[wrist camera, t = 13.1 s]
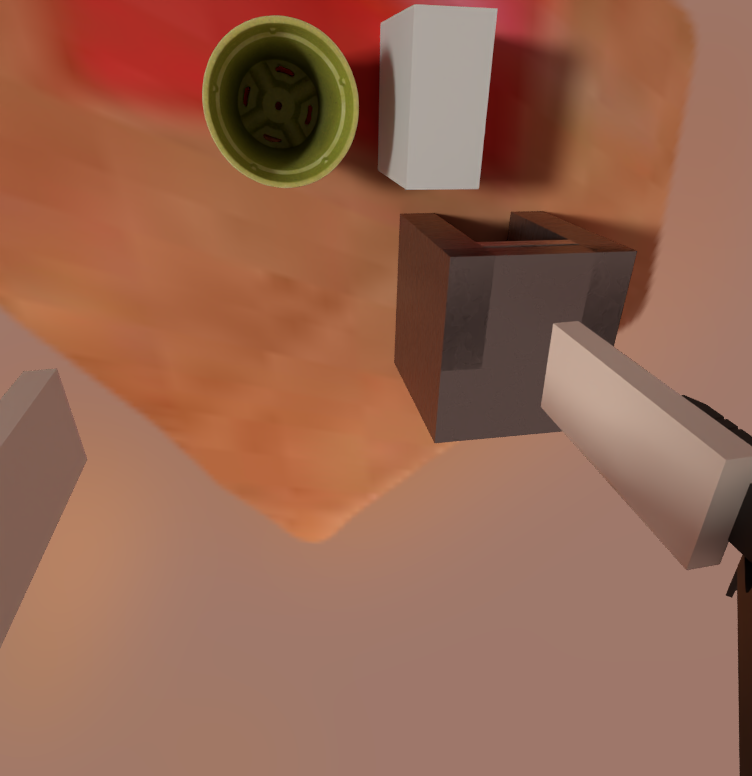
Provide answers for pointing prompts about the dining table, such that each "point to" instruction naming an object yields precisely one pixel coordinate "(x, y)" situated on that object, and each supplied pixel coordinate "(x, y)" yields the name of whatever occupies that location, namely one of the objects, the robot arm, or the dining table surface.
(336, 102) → the plant pot
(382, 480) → the dining table surface
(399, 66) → the upright grey box
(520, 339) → the box
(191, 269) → the dining table surface
